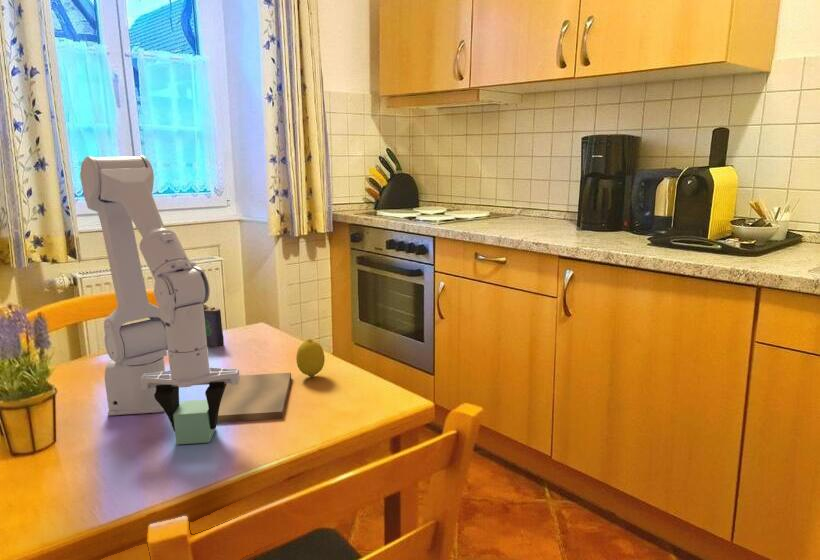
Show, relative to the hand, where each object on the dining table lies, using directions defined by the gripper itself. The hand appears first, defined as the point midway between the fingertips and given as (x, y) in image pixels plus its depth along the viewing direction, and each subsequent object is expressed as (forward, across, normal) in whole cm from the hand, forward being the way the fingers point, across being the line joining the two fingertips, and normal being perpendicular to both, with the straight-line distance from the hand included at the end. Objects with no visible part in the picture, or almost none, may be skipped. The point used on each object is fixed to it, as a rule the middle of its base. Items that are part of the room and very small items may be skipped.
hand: (195, 427), depth 95 cm
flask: (+2, -9, +47) cm, 48 cm away
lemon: (+2, +17, +23) cm, 29 cm away
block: (+1, 0, 0) cm, 1 cm away
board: (+2, +7, +14) cm, 16 cm away
